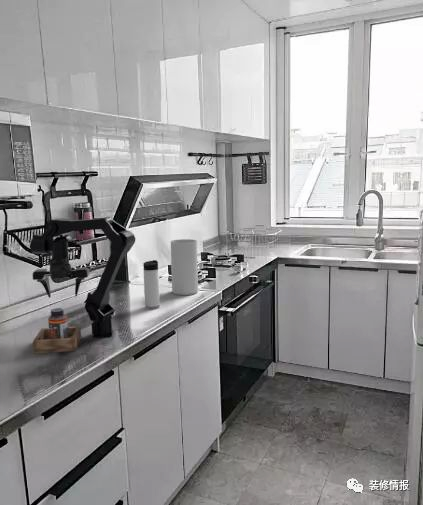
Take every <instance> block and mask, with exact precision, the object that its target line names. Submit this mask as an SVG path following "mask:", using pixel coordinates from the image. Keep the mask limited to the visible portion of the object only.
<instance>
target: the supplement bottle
mask: <svg viewBox="0 0 423 505" xmlns="http://www.w3.org/2000/svg"><path fill="white" fill-rule="evenodd" d="M47 321H48V322H47V323H48V328H49V338H50V339H62V338H68V327H69V326H68V317H67V315H66V314H65V313H64V308H62V307H57V308H52V309H51V310H50V315H49V316H48V319H47Z"/></svg>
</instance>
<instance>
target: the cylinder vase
mask: <svg viewBox="0 0 423 505" xmlns="http://www.w3.org/2000/svg"><path fill="white" fill-rule="evenodd" d="M170 267H171V291H172V294H174V295H177V296H189V295H190V296H191V295H194V294H197V293H198V292H199V279H198V277H199V273H198V271H199V270H198V240H197V239H191V238H189V239H186V238H185V239H174V240H171V241H170Z"/></svg>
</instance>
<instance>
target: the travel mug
mask: <svg viewBox="0 0 423 505" xmlns="http://www.w3.org/2000/svg"><path fill="white" fill-rule="evenodd" d="M142 264H143V265H142V266H143V287H144V288H143V289H144V290H143V291H144V293H143V294H144V308H145V309H146V310H157V309H159V308H160V306H161V305H160V280H159V279H160V278H159V273H160V272H159V262H158V260H157V259H153V260H149V261H144V262H143V263H142Z"/></svg>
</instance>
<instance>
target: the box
mask: <svg viewBox="0 0 423 505" xmlns="http://www.w3.org/2000/svg"><path fill="white" fill-rule="evenodd" d="M67 327H68V338H62V339H50V338H49V327H47V328H45V327H44V328H40V330H39V332H38V334H37V335H36V336H35V338H34V339H33V341H32V347H33V348H32V350H33V354H44V353H45V354H47V353H61V352H62V353H63V352H77V349H78V347H79V344H80V341H81V338H82V330H81V329H82V328H81V326H79V325H78V326H67Z"/></svg>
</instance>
